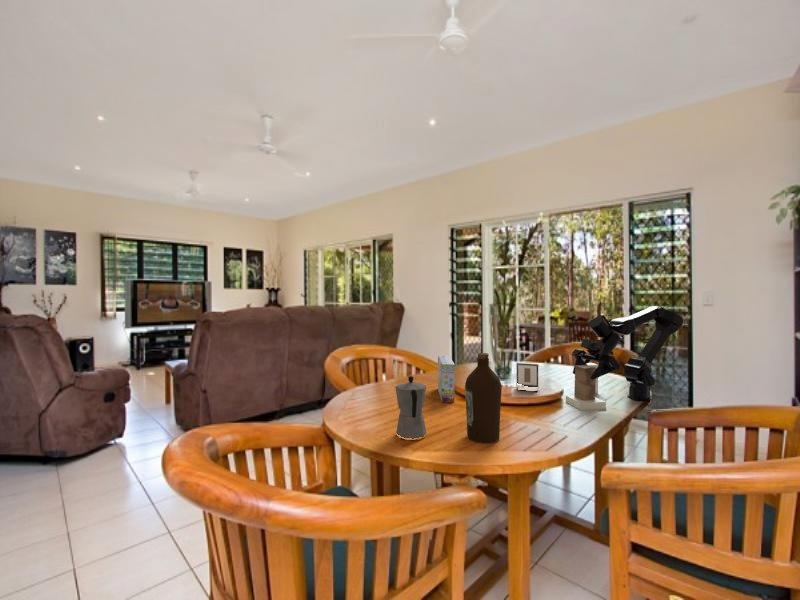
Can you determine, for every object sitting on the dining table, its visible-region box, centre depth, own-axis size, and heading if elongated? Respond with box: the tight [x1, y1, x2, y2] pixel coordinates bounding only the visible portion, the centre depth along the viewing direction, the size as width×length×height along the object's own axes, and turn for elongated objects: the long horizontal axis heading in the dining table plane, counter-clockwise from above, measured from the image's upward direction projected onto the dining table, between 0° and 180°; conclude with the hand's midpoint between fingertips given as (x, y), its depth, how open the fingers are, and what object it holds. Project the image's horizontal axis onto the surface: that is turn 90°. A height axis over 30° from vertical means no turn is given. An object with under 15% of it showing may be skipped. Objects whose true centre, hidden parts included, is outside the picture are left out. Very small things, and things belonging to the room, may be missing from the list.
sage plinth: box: [565, 394, 607, 411], centre depth 146 cm, size 10×10×3 cm
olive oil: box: [464, 352, 503, 444], centre depth 115 cm, size 11×11×25 cm
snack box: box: [437, 355, 456, 403], centre depth 161 cm, size 21×6×15 cm, turn 179°
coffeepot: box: [394, 375, 427, 439], centre depth 116 cm, size 15×9×18 cm, turn 6°
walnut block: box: [573, 365, 596, 401], centre depth 146 cm, size 5×5×12 cm
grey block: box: [587, 362, 599, 395], centre depth 164 cm, size 5×5×12 cm
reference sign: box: [516, 362, 539, 388], centre depth 169 cm, size 6×9×11 cm, turn 71°
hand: (582, 376), depth 146 cm, fingers open, 9 cm apart
